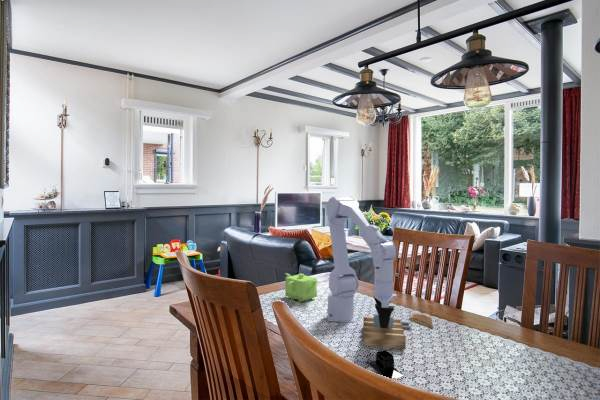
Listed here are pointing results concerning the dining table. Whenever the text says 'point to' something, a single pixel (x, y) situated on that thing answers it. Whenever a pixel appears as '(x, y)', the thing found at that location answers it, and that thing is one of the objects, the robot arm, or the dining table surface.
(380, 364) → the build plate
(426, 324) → the shard
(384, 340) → the rack
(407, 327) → the holder
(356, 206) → the robot arm
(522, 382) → the dining table surface
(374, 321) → the plate
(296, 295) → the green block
